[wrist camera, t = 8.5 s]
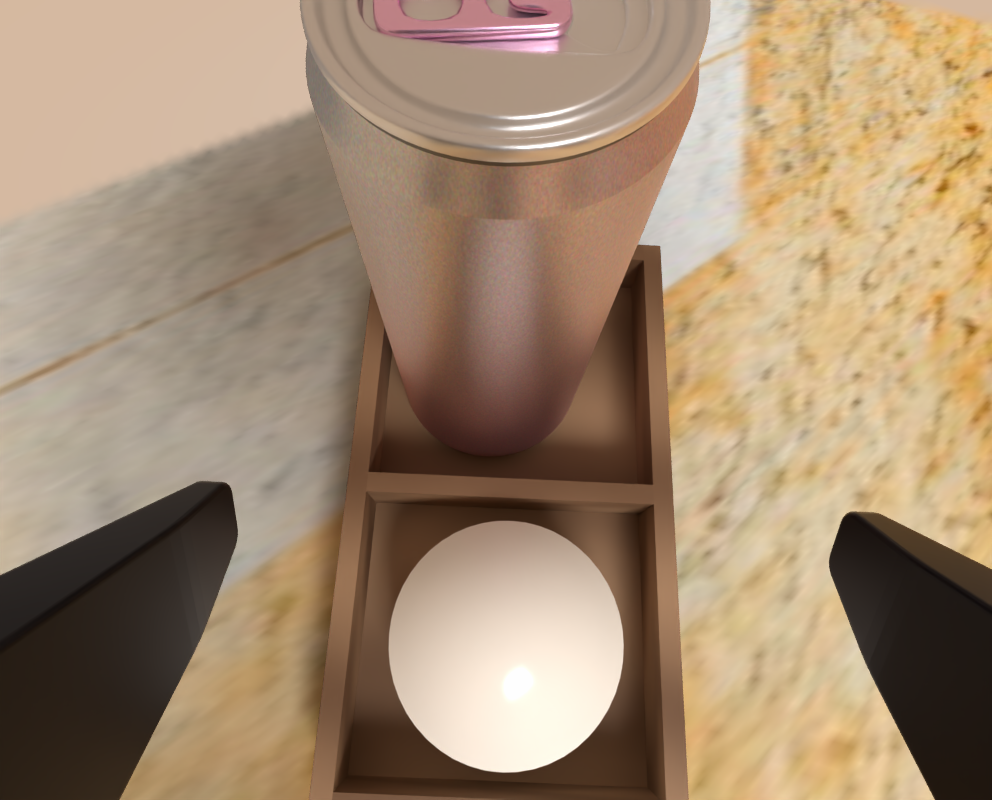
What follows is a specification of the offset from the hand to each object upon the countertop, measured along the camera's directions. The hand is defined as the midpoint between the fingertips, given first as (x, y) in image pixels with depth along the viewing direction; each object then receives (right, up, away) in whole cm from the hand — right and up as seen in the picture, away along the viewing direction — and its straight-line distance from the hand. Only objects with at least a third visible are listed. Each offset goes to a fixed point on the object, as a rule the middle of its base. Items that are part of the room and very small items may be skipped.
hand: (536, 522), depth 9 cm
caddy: (0, -2, +13) cm, 13 cm away
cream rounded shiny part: (0, -6, +11) cm, 12 cm away
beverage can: (-1, +2, +14) cm, 14 cm away
